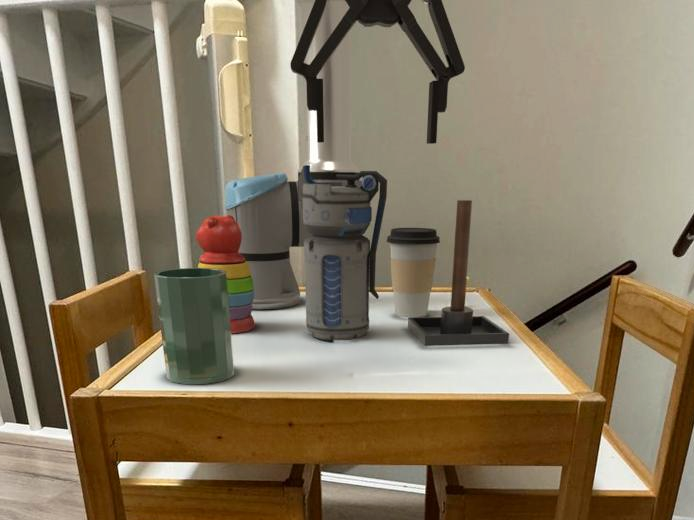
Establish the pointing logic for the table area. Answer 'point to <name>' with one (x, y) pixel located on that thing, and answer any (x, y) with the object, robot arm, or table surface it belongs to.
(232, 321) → the stacking bear
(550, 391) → the table surface
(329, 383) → the table surface
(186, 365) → the tumbler
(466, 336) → the tray
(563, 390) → the table surface
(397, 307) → the coffee cup
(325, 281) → the grey grenade canister
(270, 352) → the table surface
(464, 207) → the brush
